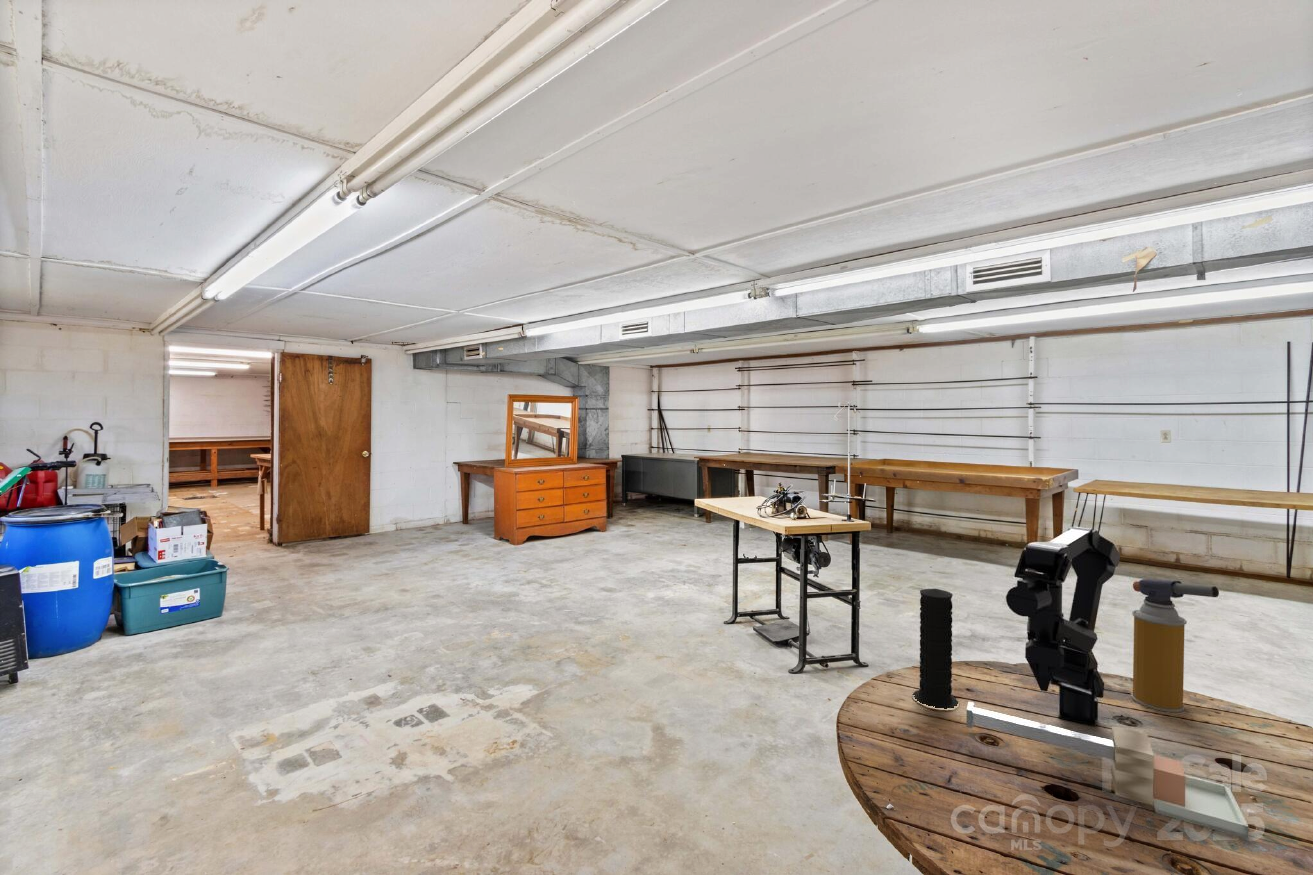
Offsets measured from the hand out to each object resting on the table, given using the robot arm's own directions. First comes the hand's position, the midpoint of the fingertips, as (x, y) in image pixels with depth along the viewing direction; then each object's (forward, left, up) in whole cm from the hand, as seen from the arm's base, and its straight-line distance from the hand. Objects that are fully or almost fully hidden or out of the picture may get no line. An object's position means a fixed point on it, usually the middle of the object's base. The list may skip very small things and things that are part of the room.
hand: (1043, 681), depth 117 cm
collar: (+18, -10, -11) cm, 23 cm away
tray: (+21, -10, -12) cm, 26 cm away
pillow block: (+13, -10, -12) cm, 20 cm away
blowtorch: (+24, +31, -12) cm, 41 cm away
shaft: (0, -10, -8) cm, 13 cm away
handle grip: (-21, +6, -12) cm, 25 cm away
